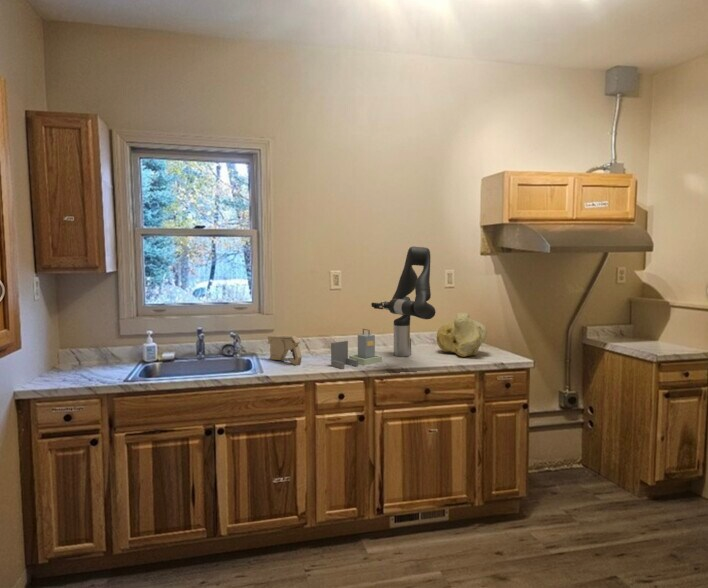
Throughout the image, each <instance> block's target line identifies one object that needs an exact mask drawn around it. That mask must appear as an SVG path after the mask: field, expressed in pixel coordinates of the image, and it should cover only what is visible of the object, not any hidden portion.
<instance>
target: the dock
mask: <svg viewBox="0 0 708 588" xmlns="http://www.w3.org/2000/svg"><path fill="white" fill-rule="evenodd" d="M330 364H331V365H330V366H331V367H333V368H338V369H340V370H345V365H348V366H351V367H359V364H358V360H354V359H350V358H349V341H348V340H341V341H335V342H330Z"/></svg>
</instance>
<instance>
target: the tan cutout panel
mask: <svg viewBox="0 0 708 588" xmlns="http://www.w3.org/2000/svg"><path fill="white" fill-rule="evenodd" d="M267 343H268V344H269V345H270V348H269V354H270V355H269V360H271V361H284V362H285V361H286V362H290V364H293V365H295V366H300V365H301V363H302V359H303V355H302V353H301V349H300V346H299V344H301V341H300V340H299V339H298V338H297V336H296V335H268V336H267ZM289 351H290V353H291V356H292V357H286V356H287V354H288V352H289Z"/></svg>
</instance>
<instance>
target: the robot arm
mask: <svg viewBox="0 0 708 588" xmlns="http://www.w3.org/2000/svg"><path fill="white" fill-rule="evenodd" d="M413 266H418V267H419V266H421V267H422V271H421V273H420V274H419V276H418V275H417V273H416V271H415V269H414V267H413ZM430 272H431V251H430V249H429V248H428V247H424V246H423V247H422V246H411V247H409V248H408V250H407V254H406V257H405V262H404V266H403V269H402V272H401V273H400V277H399V279H398V284H397V287H396V290H395V292H394V294H393V296H392V298H391V300H389V301H385V300H384V301H380V302H371V304H370V305H371V306H370V307H372V308H373V309H377V310H385V311H389V313H391V314H393V315H398V316H399V315H400V317H397V318H395V319H394V320H393V356H395V357H409V356H412V337H411V317H412V316H413V317H416V318H418V319H423V320H432V319H433V318H434V317H435V316H436V312H437V311H436V308H435V307H434V306H433V304H430V303H428V301H430V299H431V295H432V293H431V284H430V281H431V280H430V276H431V273H430ZM414 291H415V297H414V300H412V299H411V298H410V297H409V295H410V294H412V292H414Z"/></svg>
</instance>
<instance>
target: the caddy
mask: <svg viewBox="0 0 708 588" xmlns="http://www.w3.org/2000/svg"><path fill="white" fill-rule="evenodd" d="M365 331H367V333H365ZM370 333H371V331H370V329H368V328H362V333H361V334H357V354H358V358H363V359H368V358H373V357H375V355H376V350H375V349H376V337H375V334H370Z"/></svg>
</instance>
